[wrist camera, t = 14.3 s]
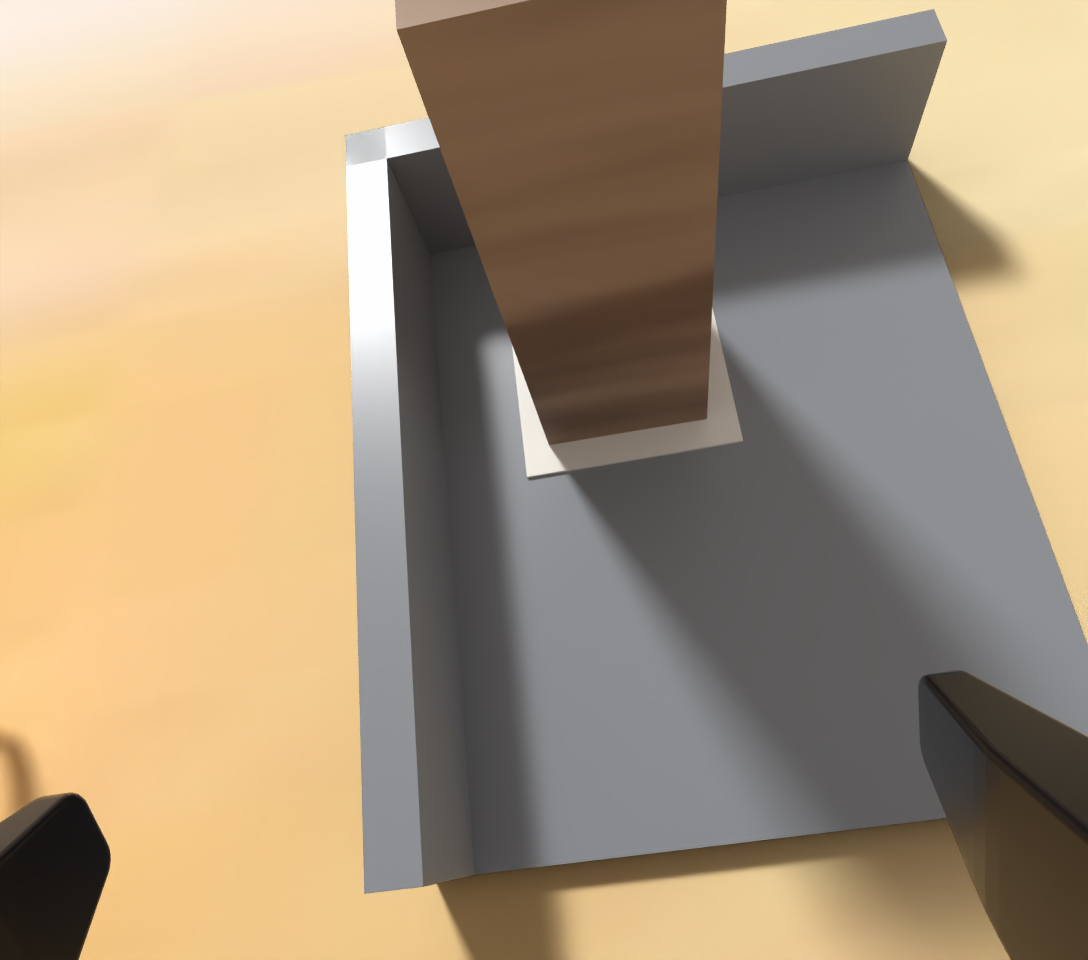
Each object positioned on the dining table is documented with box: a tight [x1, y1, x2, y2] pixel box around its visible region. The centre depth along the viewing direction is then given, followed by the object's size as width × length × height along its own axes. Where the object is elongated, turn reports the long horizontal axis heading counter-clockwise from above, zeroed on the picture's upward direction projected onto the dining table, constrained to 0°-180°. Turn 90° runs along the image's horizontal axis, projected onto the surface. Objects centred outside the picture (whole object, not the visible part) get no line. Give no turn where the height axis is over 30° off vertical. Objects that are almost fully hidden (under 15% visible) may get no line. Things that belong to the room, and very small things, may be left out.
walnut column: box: [395, 0, 727, 445], centre depth 19 cm, size 5×5×14 cm
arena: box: [345, 9, 1088, 894], centre depth 22 cm, size 20×17×5 cm
